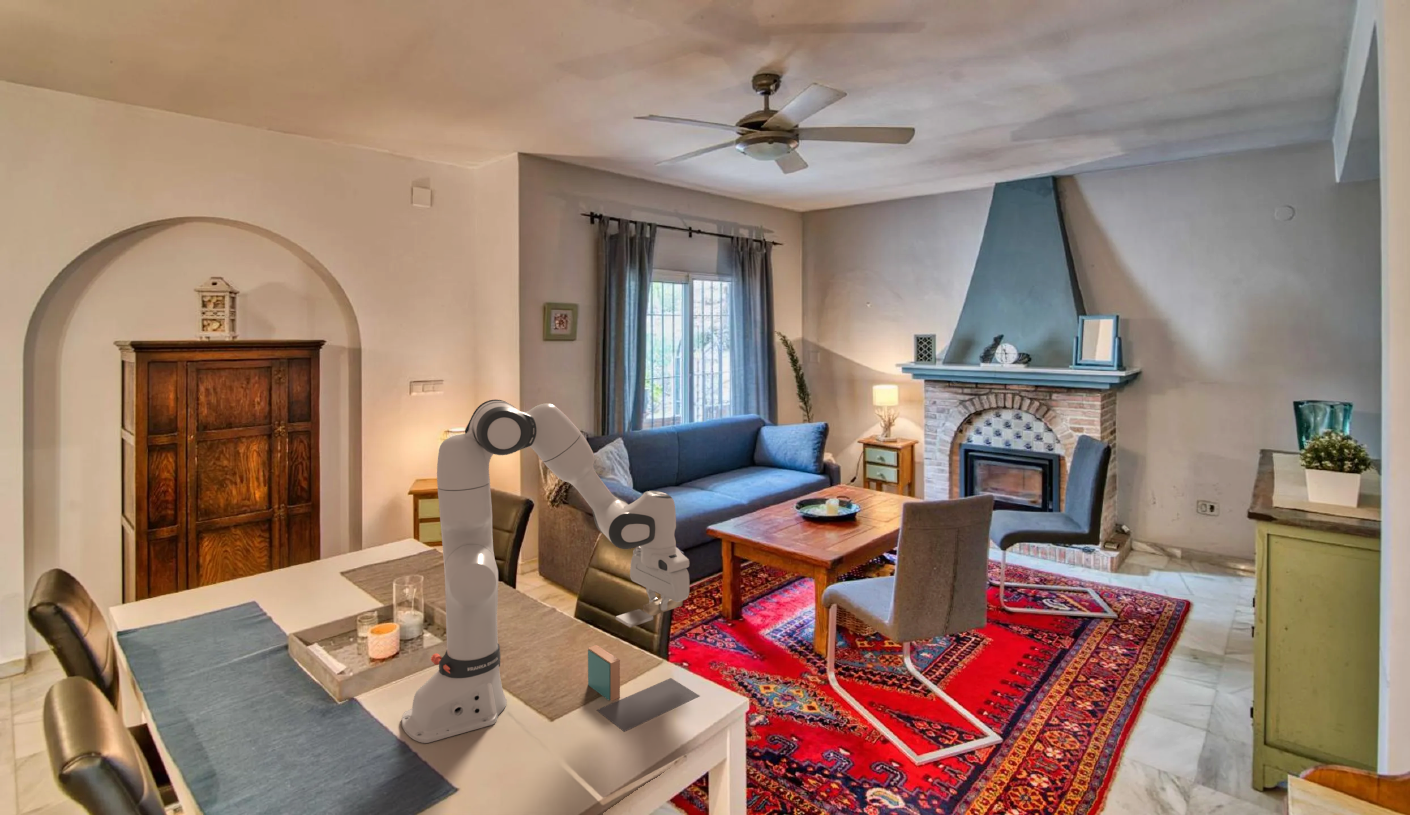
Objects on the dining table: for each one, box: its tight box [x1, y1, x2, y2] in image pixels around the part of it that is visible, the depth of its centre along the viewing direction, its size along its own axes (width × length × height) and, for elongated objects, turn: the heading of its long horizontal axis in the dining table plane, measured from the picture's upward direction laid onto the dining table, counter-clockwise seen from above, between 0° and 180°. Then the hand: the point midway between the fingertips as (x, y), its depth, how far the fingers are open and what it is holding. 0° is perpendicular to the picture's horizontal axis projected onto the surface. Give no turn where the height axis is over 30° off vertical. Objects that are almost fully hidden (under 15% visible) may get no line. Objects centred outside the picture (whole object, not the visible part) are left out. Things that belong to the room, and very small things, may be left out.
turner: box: [615, 598, 684, 628], centre depth 171 cm, size 18×6×2 cm, turn 132°
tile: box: [587, 644, 621, 702], centre depth 163 cm, size 3×10×10 cm, turn 42°
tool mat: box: [596, 677, 700, 732], centre depth 159 cm, size 22×11×1 cm, turn 132°
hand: (658, 607), depth 173 cm, fingers closed on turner, 2 cm apart
